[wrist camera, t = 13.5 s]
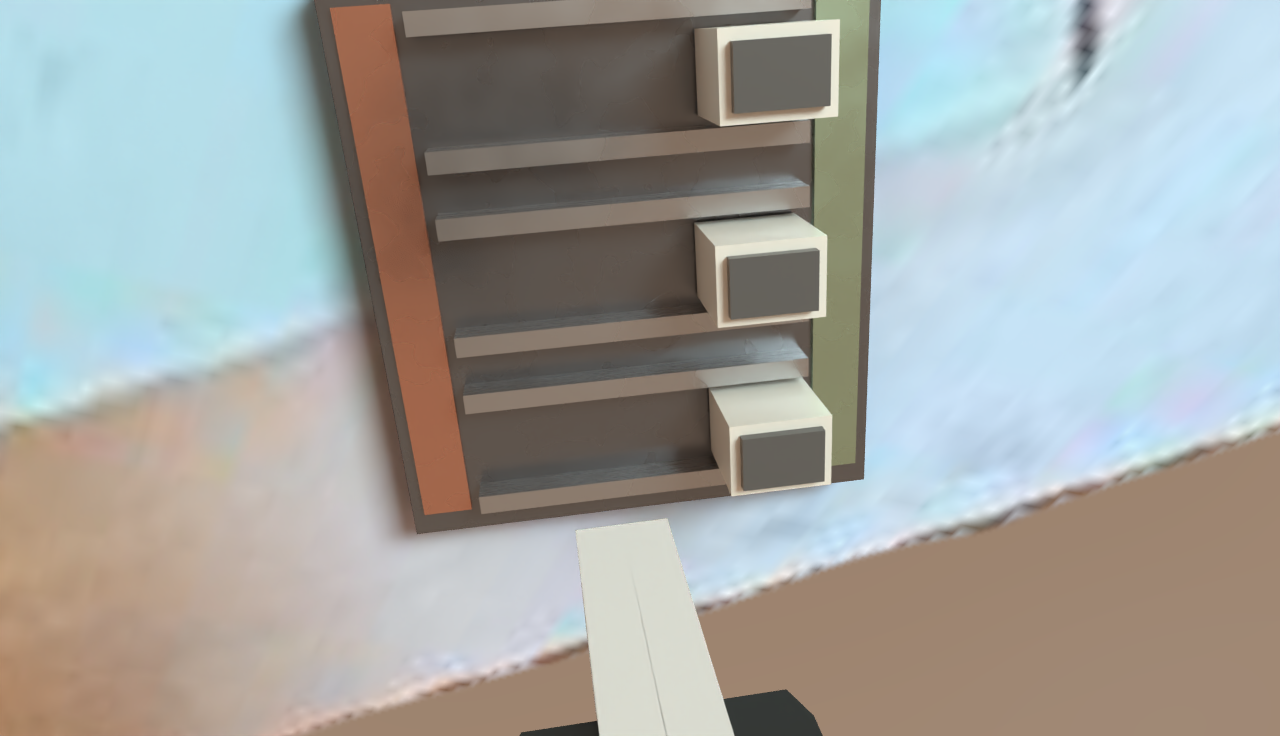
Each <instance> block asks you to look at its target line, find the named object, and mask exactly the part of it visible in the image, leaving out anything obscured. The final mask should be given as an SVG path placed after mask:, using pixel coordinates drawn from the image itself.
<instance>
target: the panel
mask: <svg viewBox="0 0 1280 736" xmlns="http://www.w3.org/2000/svg"><path fill="white" fill-rule="evenodd" d="M314 2H315V7H316V12H317V17H318V22H319V27H320V33H321V38H322V43H323V48H324V53H325V59H326V64H327V69H328V74H329V79H330V85H331V90H332V95H333V100H334V105H335V110H336V116H337V121H338V126H339V131H340V136H341V142H342V147H343V152H344V157H345V162H346V167H347V173H348V178H349V183H350V188H351V193H352V199H353V204H354V209H355V214H356V219H357V225H358V230H359V235H360V240H361V245H362V250H363V256H364V261H365V266H366V271H367V276H368V282H369V287H370V292H371V297H372V302H373V308H374V313H375V318H376V323H377V328H378V333H379V339H380V344H381V349H382V354H383V359H384V365H385V370H386V375H387V380H388V385H389V390H390V396H391V401H392V406H393V411H394V416H395V422H396V427H397V432H398V437H399V442H400V448H401V453H402V458H403V463H404V468H405V473H406V479H407V484H408V489H409V494H410V499H411V505H412V510H413V515H414V520H415V525H416V530H417V534H421V533H429V532H437V531H446V530H454V529H462V528H470V527H478V526H486V525H494V524H503V523H511V522H519V521H527V520H535V519H543V518H551V517H560V516H568V515H576V514H584V513H592V512H600V511H608V510H617V509H625V508H633V507H641V506H649V505H657V504H666V503H674V502H682V501H690V500H698V499H706V498H714V497H723V496H731V494H730V492H729V490H728V487H727V485H726V483H725V480H724V478H723V476H722V474H721V471H720V469H719V467H718V465H717V462H716V460H715V458H714V455H713V453H712V451H711V435H710V410H709V387H717V386H726V385H735V384H744V383H753V382H762V381H771V380H780V379H789V378H798V377H802V378H803V379H804V380H805V382H806V383H807V384H808V385H809V387H810V388H811V389H812V390H813V392H814V393H815V394H816V395H817V397H818V398H819V399H820V400H821V402H822V403H823V404H824V406H825V407H826V408H827V409H828V411H829V412H830V413H831V414H832V459H831V483H837V482H845V481H853V480H861V479H864V460H865V432H866V404H867V376H868V348H869V320H870V292H871V264H872V236H873V208H874V179H875V151H876V123H877V95H878V67H879V39H880V11H881V0H314ZM836 19H840V44H839V96H838V117H826V118H814V119H802V120H790V121H778V122H766V123H754V124H742V125H730V126H718V125H716V124H714V123H712V122H710V121H708V120H706V119H704V118H702V117H700V116H698V111H697V86H696V61H695V36H694V29H698V28H712V27H726V26H739V25H753V24H767V23H780V22H794V21H812V20H836ZM790 213H795V214H796V215H798V216H799V217H801V218H802V219H804V220H805V221H807V222H808V223H810V224H811V225H813V226H814V227H816V228H817V229H819V230H820V231H821V232H823V233H824V234H826V235H827V291H826V317H819V318H809V319H800V320H790V321H780V322H771V323H761V324H752V325H742V326H733V327H723V328H718V327H717V326H716V324H715V323H714V321H713V320H712V318H711V316H710V315H709V313H708V312H707V310H706V309H705V307H704V306H703V304H702V303H701V301H700V299H699V298H698V296H697V275H696V252H695V229H694V222H705V221H715V220H726V219H737V218H747V217H758V216H769V215H779V214H790Z"/></svg>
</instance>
